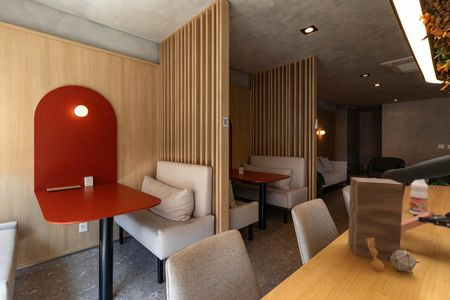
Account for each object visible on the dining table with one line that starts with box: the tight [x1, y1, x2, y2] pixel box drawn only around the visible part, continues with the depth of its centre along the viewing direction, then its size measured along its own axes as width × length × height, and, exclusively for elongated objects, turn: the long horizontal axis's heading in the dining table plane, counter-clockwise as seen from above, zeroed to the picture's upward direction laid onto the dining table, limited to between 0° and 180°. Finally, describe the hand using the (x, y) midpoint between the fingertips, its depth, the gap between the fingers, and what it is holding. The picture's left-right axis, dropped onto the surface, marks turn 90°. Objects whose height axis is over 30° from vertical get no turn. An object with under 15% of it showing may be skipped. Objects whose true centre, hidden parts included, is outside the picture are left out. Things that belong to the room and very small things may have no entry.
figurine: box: [366, 238, 385, 272], centre depth 86 cm, size 8×6×12 cm
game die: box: [387, 248, 421, 274], centre depth 85 cm, size 9×8×10 cm
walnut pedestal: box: [347, 176, 404, 262], centre depth 99 cm, size 12×16×32 cm
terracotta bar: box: [401, 211, 433, 234], centre depth 105 cm, size 4×22×3 cm, turn 75°
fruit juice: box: [408, 179, 429, 215], centre depth 154 cm, size 9×9×28 cm
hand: (416, 217), depth 104 cm, fingers closed on terracotta bar, 3 cm apart
